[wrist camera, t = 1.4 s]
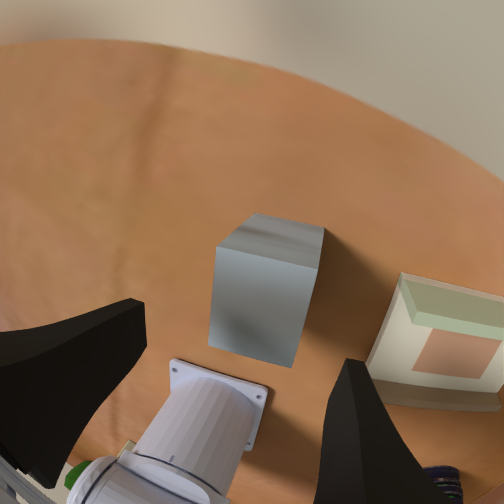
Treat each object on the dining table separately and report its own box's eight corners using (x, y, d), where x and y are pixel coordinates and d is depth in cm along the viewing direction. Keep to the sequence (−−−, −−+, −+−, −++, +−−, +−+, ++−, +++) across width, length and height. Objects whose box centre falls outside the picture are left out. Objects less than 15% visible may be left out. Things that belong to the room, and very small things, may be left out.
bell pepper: (74, 451, 42) (47, 483, 33) (98, 459, 39) (70, 496, 30) (99, 476, 44) (76, 508, 35) (125, 485, 41) (101, 521, 32)
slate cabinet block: (306, 304, 19) (291, 368, 13) (244, 289, 19) (208, 345, 14) (324, 227, 17) (317, 269, 11) (255, 212, 18) (216, 246, 12)
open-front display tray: (489, 391, 17) (504, 430, 13) (360, 374, 19) (360, 422, 15) (537, 305, 14) (566, 339, 10) (401, 272, 16) (417, 311, 12)
